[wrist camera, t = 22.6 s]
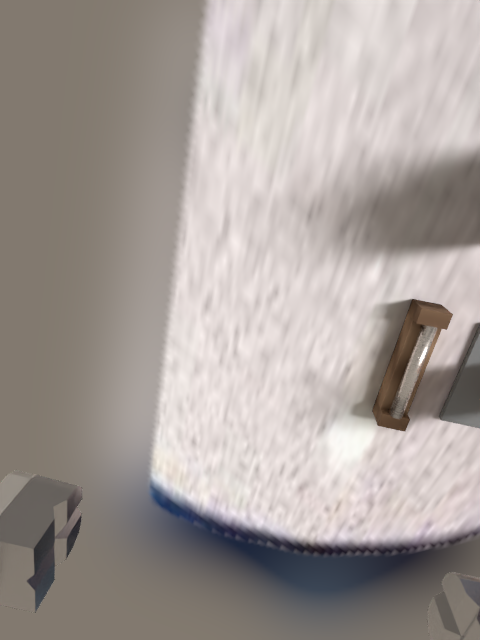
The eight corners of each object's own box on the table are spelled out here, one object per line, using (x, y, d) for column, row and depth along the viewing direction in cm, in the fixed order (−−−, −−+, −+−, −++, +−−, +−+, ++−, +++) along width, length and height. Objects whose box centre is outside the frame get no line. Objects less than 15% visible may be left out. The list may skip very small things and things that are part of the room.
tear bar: (412, 299, 40) (423, 309, 37) (441, 304, 40) (454, 315, 37) (372, 410, 46) (378, 427, 42) (397, 415, 45) (406, 433, 42)
